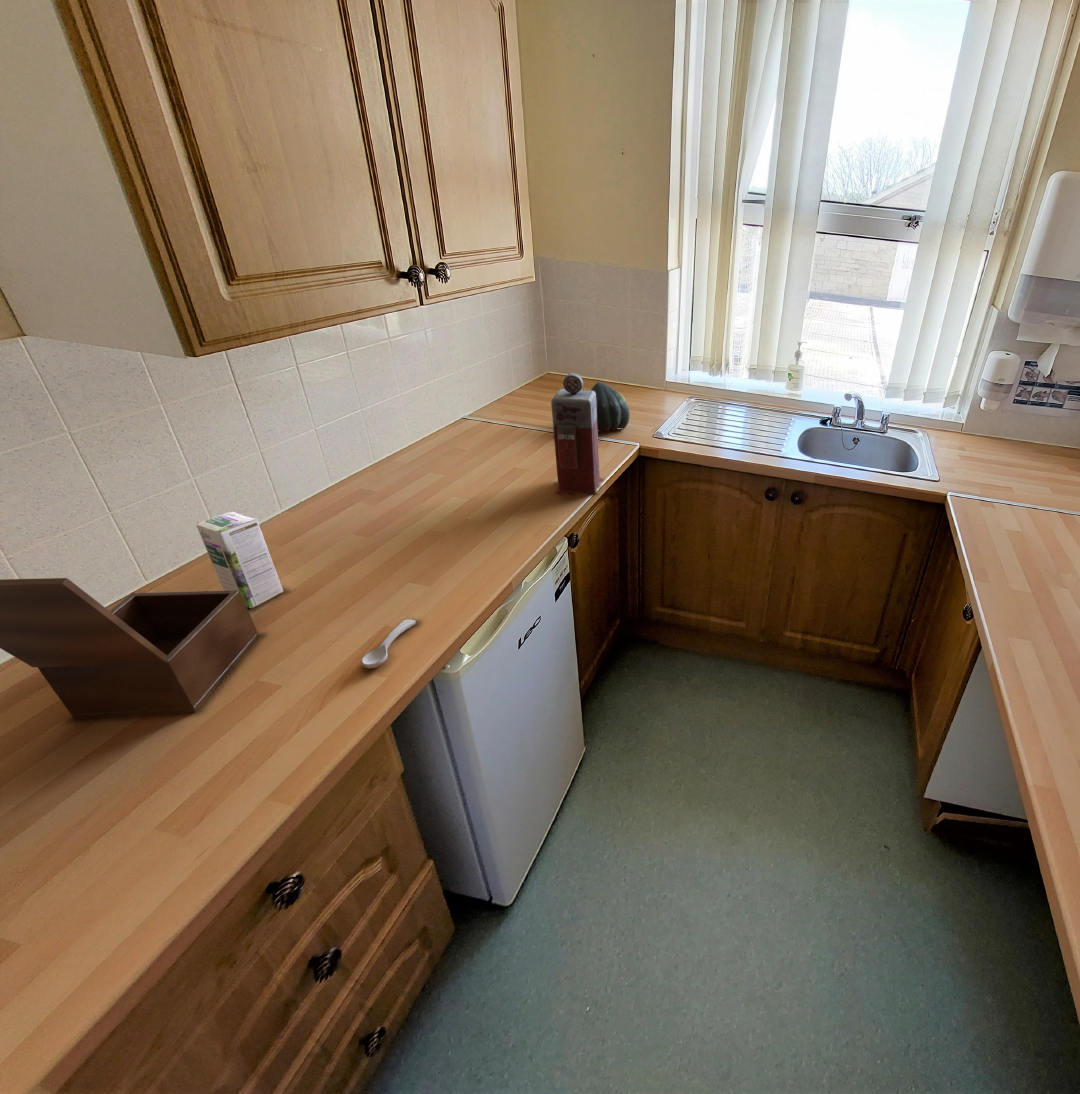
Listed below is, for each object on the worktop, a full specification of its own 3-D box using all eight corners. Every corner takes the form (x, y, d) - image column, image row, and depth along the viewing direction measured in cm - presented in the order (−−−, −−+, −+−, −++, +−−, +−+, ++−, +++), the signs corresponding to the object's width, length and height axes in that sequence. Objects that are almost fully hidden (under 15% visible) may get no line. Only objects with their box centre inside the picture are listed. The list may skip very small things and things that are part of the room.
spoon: (358, 671, 83) (355, 660, 82) (403, 625, 94) (401, 615, 93) (378, 673, 83) (375, 662, 82) (421, 627, 94) (419, 617, 93)
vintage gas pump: (556, 496, 138) (546, 380, 124) (564, 478, 148) (556, 368, 133) (594, 498, 139) (588, 382, 125) (599, 479, 148) (595, 370, 134)
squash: (631, 421, 173) (627, 376, 176) (580, 423, 170) (577, 377, 173) (630, 439, 187) (626, 396, 190) (584, 441, 184) (580, 398, 187)
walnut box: (158, 640, 86) (131, 592, 82) (259, 636, 88) (239, 590, 84) (73, 719, 73) (36, 667, 68) (195, 712, 75) (167, 661, 71)
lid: (-98, 581, 56) (-104, 587, 55) (67, 577, 58) (62, 583, 58) (37, 661, 68) (32, 667, 68) (167, 655, 71) (164, 661, 70)
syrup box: (226, 600, 95) (191, 524, 88) (262, 583, 100) (232, 509, 93) (250, 609, 94) (217, 532, 86) (286, 591, 98) (257, 517, 91)
